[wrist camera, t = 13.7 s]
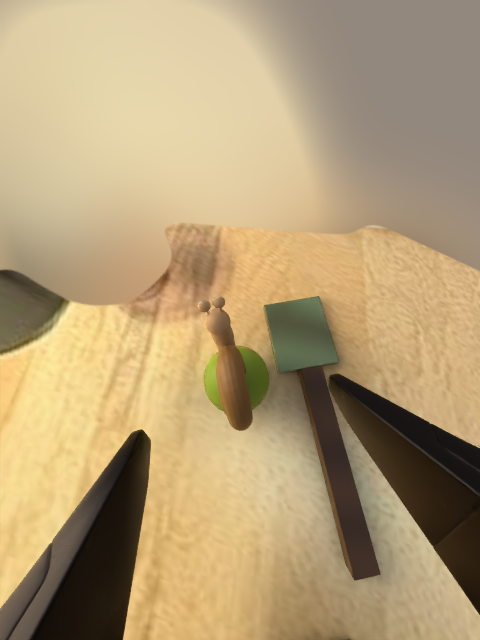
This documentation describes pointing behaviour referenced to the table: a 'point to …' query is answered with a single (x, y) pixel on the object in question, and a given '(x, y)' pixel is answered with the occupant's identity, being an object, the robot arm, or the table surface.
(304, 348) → the spatula
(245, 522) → the table surface
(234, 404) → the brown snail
